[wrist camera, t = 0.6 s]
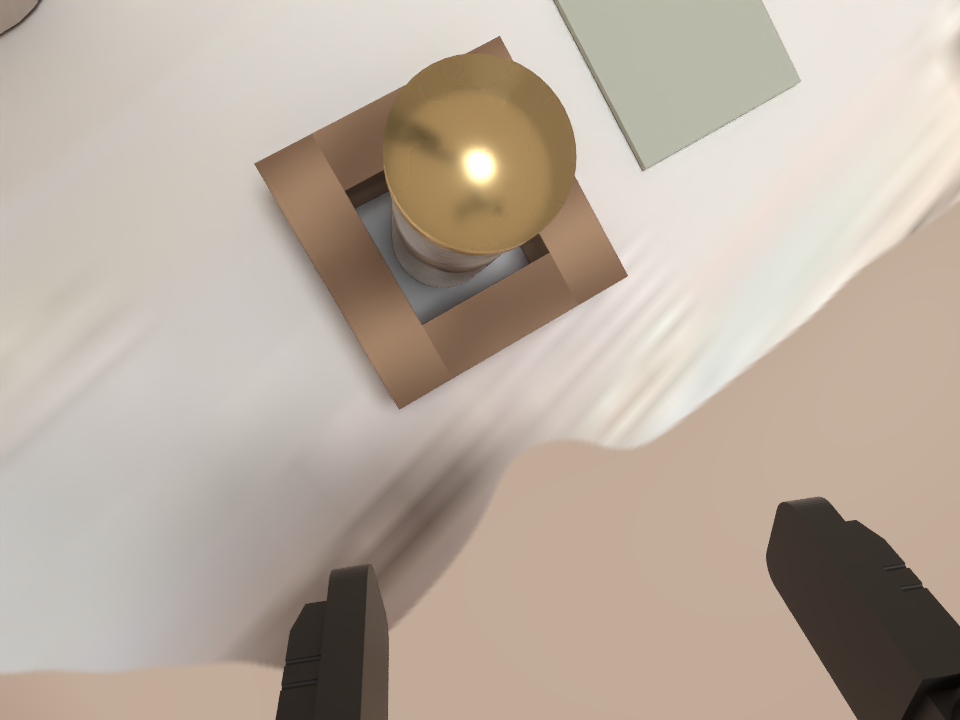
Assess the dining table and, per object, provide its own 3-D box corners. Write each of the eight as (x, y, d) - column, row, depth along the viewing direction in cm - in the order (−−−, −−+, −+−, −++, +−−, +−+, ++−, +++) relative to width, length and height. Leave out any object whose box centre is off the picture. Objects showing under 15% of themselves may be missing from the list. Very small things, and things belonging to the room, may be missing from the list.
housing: (273, 187, 30) (254, 163, 26) (486, 75, 31) (499, 35, 27) (398, 400, 31) (399, 409, 27) (599, 284, 32) (628, 276, 28)
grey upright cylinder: (367, 215, 30) (345, 108, 16) (462, 164, 31) (517, 19, 17) (422, 311, 31) (445, 286, 17) (514, 259, 31) (609, 193, 17)
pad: (551, -5, 31) (553, -10, 31) (711, -89, 32) (716, -94, 32) (642, 171, 32) (646, 168, 32) (796, 84, 33) (801, 81, 33)
